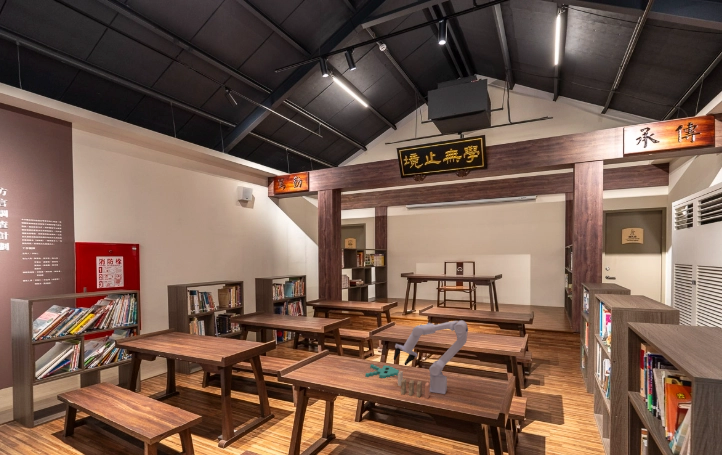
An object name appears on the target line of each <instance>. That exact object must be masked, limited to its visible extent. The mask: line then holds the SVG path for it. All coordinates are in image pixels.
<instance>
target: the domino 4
mask: <svg viewBox="0 0 722 455" xmlns="http://www.w3.org/2000/svg"><path fill="white" fill-rule="evenodd" d="M430 396H431V392H430V381H429V382H425V384H424V399H426V400H428V399H429V398H430Z"/></svg>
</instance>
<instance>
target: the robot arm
mask: <svg viewBox="0 0 722 455" xmlns="http://www.w3.org/2000/svg"><path fill="white" fill-rule="evenodd" d="M443 330H450V331H451V332H454V333H455V335H456V340H455V342H454V343H452V344H451V346H450V347H449V348H448V349H447V350H446V351H445V352H444V354H442V355H441V356H440V358H438V359H437V360H435V361H433V363H432V364H431V366H429V368H428V369H429V383H430V393H434V394H435V393H436V394H442V395H445V394H446V393H447V391H448V385H447V384H448V379H447V378H448V377H447V375H444V374H443V369H444V367H445V366H446V365H447V364H448V363H449V361H451V359H453V357H454V356H455V355H456V354H457V353H458V352H460V350H461V349H462V348H463V347H464V345H465V344H466V343H467V342H468V332H469V327H468V324H467V322H466V321H465V320H462V319H461V320H453V321H452V320H451V321H446V322H442V323H439V324H434V323H432V322H427V323H426V324H420V325H419V324H417V325H416V326H415V327H413V328H412V330H411V331H412V332H411V333H410V334H409V336H408V338H407V339H406V341H405V342H404V345H402V344H398V343H395V345H394V348H395V351H394V356H393V360H394V361H396V360H397V358H398V356H399V355H400V354H401V351H402V352H404V353H406V354H408V356H407V358H406V360H405V361H404V366H407V365H408V364H409V363H410V362H412V361H414V360H415V359H416V358H417V357H418V353H417V352H415V351H413V350H414V348H415V346H416V345H417V343H418V342H419V340H420V338H421V336H425V335H431V334H436V332H437V331H443Z"/></svg>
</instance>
